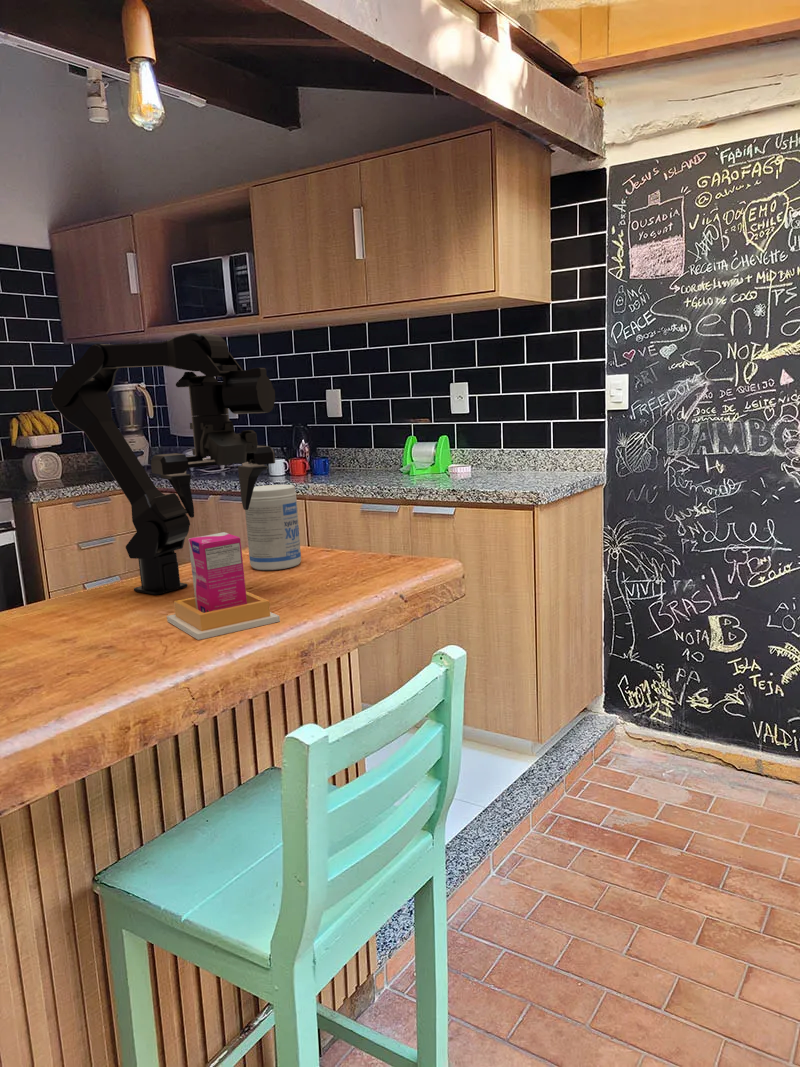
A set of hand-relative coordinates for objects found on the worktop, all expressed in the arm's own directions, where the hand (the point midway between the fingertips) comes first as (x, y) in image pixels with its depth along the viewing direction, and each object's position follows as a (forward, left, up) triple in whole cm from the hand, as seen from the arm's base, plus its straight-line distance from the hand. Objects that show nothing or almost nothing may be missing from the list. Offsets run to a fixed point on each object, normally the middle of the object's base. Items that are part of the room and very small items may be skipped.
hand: (219, 513), depth 130 cm
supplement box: (+13, -12, -12) cm, 22 cm away
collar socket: (+13, -12, -13) cm, 22 cm away
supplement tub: (-7, +18, -13) cm, 23 cm away
